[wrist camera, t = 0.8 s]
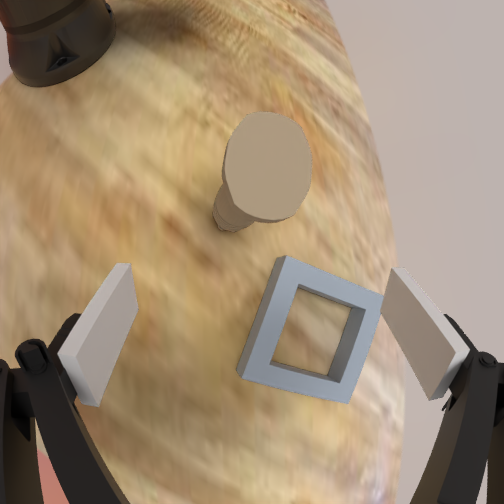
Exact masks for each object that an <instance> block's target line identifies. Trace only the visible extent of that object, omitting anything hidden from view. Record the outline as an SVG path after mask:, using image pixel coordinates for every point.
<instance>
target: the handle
mask: <svg viewBox="0 0 504 504" xmlns="http://www.w3.org/2000/svg"><path fill="white" fill-rule="evenodd" d="M311 175H312V154H311V150H310V147H309V144H308V141H307V139H306V136H305V134H304V132H303V129H302V127H301V126H300V125H299V124H297V123H296V122H295V121H293V120H292V119H290V118H288V117H286V116H284V115H280V114H277V113H273V112H260V111H259V112H254V113H250V114H247V115H246V117H245V118H244V119H243V120H242V121H241V122H240V124H239V125H238V126H237V127H236V129H235V130H234V132H233V133H232V135H231V137H230V139H229V141H228V144H227V146H226V150H225V155H224V160H223V167H222V179H223V185H222V186H221V188H220V189H219V191H218V193H217V196H216V198H215V202H214V207H213V217H214V218H215V221H216V222H217V224H218V228H219V229H220V230H228V231H231V232H236V231H239V230H241V229H244V228H246V227H248V226H249V225H251V224H252V223H253V222H254V221H256V222H261V223H276V222H279V221H283V220H285V219H287V218H289V217H291V216H293V215H295V213H296V212H297V210H298V209H299V207H300V205H301V204H302V202H303V200H304V199H305V197H306V195H307V193H308V191H309V188H310V184H311Z"/></svg>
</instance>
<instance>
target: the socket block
mask: <svg viewBox="0 0 504 504" xmlns="http://www.w3.org/2000/svg"><path fill="white" fill-rule="evenodd" d="M297 287H299V288H301V289H304V290H306V291H309V292H312V293H314V294H317V295H319V296H322V297H325V298H327V299H330V300H333V301H335V302H338V303H340V304H343V305H346V306H348V307H351V311H350V314H349V317H348V320H347V323H346V326H345V329H344V332H343V335H342V338H341V341H340V343H339V346H338V349H337V352H336V354H335V357H334V360H333V362H332V365H331V368H330V370H329V373H328V376H326V375H322V374H318V373H314V372H310V371H306V370H303V369H299V368H295V367H292V366H288V365H285V364H281V363H278V362H274V361H271V359H272V356H273V354H274V351H275V348H276V346H277V343H278V340H279V337H280V335H281V332H282V329H283V327H284V324H285V321H286V318H287V315H288V313H289V310H290V307H291V304H292V301H293V299H294V296H295V293H296V290H297ZM383 298H384V296H383V295H380V294H378V293H376V292H373V291H371V290H368V289H366V288H364V287H361V286H359V285H356V284H354V283H352V282H349V281H347V280H345V279H342V278H340V277H337V276H335V275H333V274H330V273H328V272H325V271H323V270H321V269H318V268H316V267H313V266H311V265H308V264H306V263H304V262H301V261H299V260H296V259H294V258H292V257H289V256H287V255H286V256H283V257H279V258H277V259H276V262H275V265H274V268H273V270H272V273H271V276H270V279H269V282H268V284H267V287H266V290H265V293H264V295H263V298H262V301H261V304H260V306H259V309H258V312H257V315H256V317H255V320H254V323H253V326H252V328H251V331H250V334H249V336H248V339H247V342H246V344H245V347H244V350H243V352H242V355H241V358H240V360H239V363H238V366H237V368H236V371H237V372H238V374H239V375H240V377H241V378H242V379H245V380H249V381H252V382H256V383H259V384H263V385H267V386H271V387H274V388H278V389H282V390H286V391H290V392H294V393H299V394H303V395H307V396H312V397H316V398H321V399H326V400H331V401H336V402H341V403H346V404H348V403H349V401H350V398H351V396H352V393H353V391H354V388H355V386H356V383H357V381H358V378H359V376H360V373H361V370H362V368H363V365H364V362H365V360H366V357H367V354H368V351H369V348H370V345H371V343H372V340H373V337H374V334H375V331H376V327H377V324H378V321H379V318H380V315H381V312H380V309H381V305H382V302H383Z"/></svg>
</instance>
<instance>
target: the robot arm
mask: <svg viewBox="0 0 504 504" xmlns="http://www.w3.org/2000/svg"><path fill="white" fill-rule="evenodd" d="M0 21H1V23H2V25H3V27H4V29H5V31H6V33H7V45H8V53H9V64H10V67H11V69H12V71H13V73H14V74H15V76H16V77H17V78H18V80H19V81H20V82H22V83H23V84H25V85H28V86H34V87H42V86H49V85H53V84H56V83H60V82H62V81H65V80H67V79H69V78H71V77H73V76H75V75H77V74H79V73H80V72H82V71H84V70H85V69H87V68H88V67H89V66H91V65H92V64H93V63H94V62H95V61H97V60H98V59H99V58H100V57H101V56H102V55H103V54H104V52H105V51H106V50H107V49H108V47H109V46H110V44H111V42H112V40H113V38H114V35H115V31H116V25H115V19H114V14H113V11H112V9H111V8H110V6H109V5H108V4H107V3H106V1H105V0H0ZM138 310H139V309H138V303H137V298H136V292H135V286H134V281H133V274H132V268H131V263H116V265H115V266H114V268H113V269H112V270H111V272H110V273H109V275H108V276H107V278H106V279H105V280H104V282H103V283H102V285H101V286H100V288H99V289H98V291H97V292H96V294H95V295H94V296H93V298H92V299H91V301H90V302H89V304H88V305H87V307H86V309H85V310H84V312H83V313H82V314H77V313H74V314H73V315H72V316H70V317H69V318H68V319H67V320H66V321H65V322H64V324H63V325H62V327H61V329H60V330H59V331H58V333H57V335H56V336H55V337H54V339H53V341H52V342H51V344H50V345H49V347H48V348H47V347H46V345H45V343H44V342H43V341H42V340H40V339H30V340H27V341H25V342H23V343H21V344H20V345H19V346H18V347H17V349H16V351H15V357H16V359H17V361H18V363H19V365H20V367H21V368H15V369H10V368H9V366H8V364H7V363H6V361H4V360H2V359H0V504H44V501H43V495H42V489H41V483H40V475H39V467H38V459H37V446H36V430H35V418H36V421H37V425H38V428H39V431H40V434H41V437H42V440H43V442H44V445H45V448H46V451H47V453H48V456H49V459H50V461H51V464H52V466H53V469H54V471H55V473H56V476H57V478H58V480H59V483H60V485H61V487H62V489H63V491H64V493H65V495H66V498H67V500H68V501H69V504H130V503H129V501H128V500H127V498H126V497H125V495H124V494H123V492H122V491H121V489H120V488H119V486H118V484H117V483H116V481H115V480H114V478H113V476H112V475H111V473H110V471H109V470H108V468H107V466H106V464H105V463H104V461H103V459H102V457H101V455H100V454H99V452H98V450H97V448H96V446H95V444H94V442H93V440H92V439H91V437H90V435H89V433H88V431H87V429H86V426H85V424H84V422H83V420H82V418H81V416H80V414H79V412H78V409H77V407H76V405H75V403H74V401H75V398H76V396H77V395H78V397H79V399H80V401H81V403H82V404H85V405H90V406H95V407H99V405H100V402H101V400H102V397H103V394H104V392H105V389H106V387H107V384H108V381H109V379H110V376H111V374H112V371H113V369H114V366H115V364H116V361H117V359H118V356H119V354H120V352H121V349H122V347H123V344H124V342H125V340H126V337H127V335H128V333H129V330H130V328H131V326H132V323H133V321H134V319H135V317H136V314H137V312H138ZM380 312H381V314H382V316H383V317H384V319H385V321H386V323H387V324H388V326H389V328H390V330H391V331H392V333H393V335H394V337H395V338H396V340H397V342H398V344H399V345H400V347H401V349H402V351H403V353H404V354H405V356H406V358H407V360H408V361H409V363H410V365H411V367H412V369H413V371H414V373H415V375H416V377H417V378H418V380H419V382H420V384H421V386H422V388H423V390H424V392H425V394H426V396H427V398H428V400H429V401H430V400H434V399H438V398H442V397H443V396H444V394H445V393H446V391H447V389H448V388H449V389H450V390H451V392H452V394H451V396H450V398H449V399H448V401H447V402H446V404H445V405H444V406H443V408H442V411H444V409H445V408H446V410H445V414H444V417H443V421H442V424H441V427H440V430H439V433H438V436H437V439H436V442H435V444H434V447H433V450H432V453H431V456H430V458H429V461H428V463H427V466H426V468H425V471H424V473H423V475H422V478H421V480H420V483H419V485H418V487H417V489H416V491H415V493H414V496H413V498H412V500H411V502H410V504H476V500H477V497H478V494H479V490H480V487H481V483H482V479H483V475H484V471H485V467H486V462H487V459H488V479H487V481H488V482H487V503H486V504H504V363H498V362H497V360H496V358H494V357H493V356H492V355H491V354H489V353H487V352H478V350H477V349H476V348H475V347H474V345H473V344H472V342H471V341H470V340H469V338H468V337H467V336H466V335H465V334H464V332H463V331H462V329H460V327H459V326H458V324H457V323H456V322H455V321H454V320H453V319H452V318H451V317H449V316H448V315H447V314H442V312H441V311H440V310H439V309H438V308H437V306H436V305H435V304H434V303H433V301H432V300H431V299H430V298H429V297H428V295H427V294H426V293H425V292H424V290H423V289H422V288H421V287H420V286H419V285H418V283H417V282H416V281H415V280H414V279H413V278H412V276H411V275H410V274H409V273H408V272H407V271H406V269H405V268H403V267H392V268H391V272H390V276H389V280H388V283H387V287H386V291H385V295H384V298H383V302H382V305H381V309H380Z"/></svg>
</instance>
